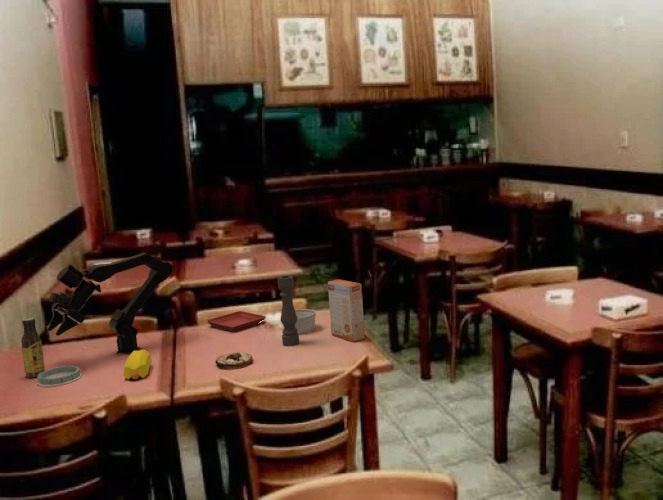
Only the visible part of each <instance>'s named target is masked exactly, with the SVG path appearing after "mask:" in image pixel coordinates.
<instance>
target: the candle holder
mask: <svg viewBox="0 0 663 500" xmlns="http://www.w3.org/2000/svg"><path fill="white" fill-rule="evenodd" d="M294 285H295V282H294V275H291V274H290V275H281V276H278V277H277V286H278V289H279V290H280V293H279V297H281V303H282V306H281V314H280V322H281V324H282V326H283V330H282V332H281V333H282V334H281V340H282V341H281V343H282V346H284V347H295V346H298V345H299V344H300V334H298V333H297V332H298V330H297V329H296V327H295V326H296V325H295V324H296V322H297V315H296V312H295V310H296V309H295V307H294V301H293V296H294V295H295V292H294V291H293V289H294Z"/></svg>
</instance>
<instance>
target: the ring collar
mask: <svg viewBox="0 0 663 500" xmlns="http://www.w3.org/2000/svg"><path fill="white" fill-rule="evenodd" d="M82 376H83V373H82V371H81V367H80V366H77V365H61V366H57V367H52V368H49V369H45V371H43V372H41V373H39V375H38V376H37V377H36V378H37V380H36V384H37V386H39V387H42V388H51V387H52V388H53V387H60V386H64V385H69V384H72V383H74V382H76V381H78V380H80V379H81V378H82Z"/></svg>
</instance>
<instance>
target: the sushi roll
mask: <svg viewBox="0 0 663 500" xmlns="http://www.w3.org/2000/svg"><path fill="white" fill-rule="evenodd" d="M252 363H253V356H252V354H250V353H248V352H244V351H243V352H242V351H239V352H238V351H237V352H233V353H228V354H222V355H220V356H218V357H217V358H216V360H215V364H216V367H217V368H218V370H220V371H221V370H222V371H223V370H228V371H229V370H237V369H241V368H244V367H247V366H249V365H251V364H252Z"/></svg>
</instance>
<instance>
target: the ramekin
mask: <svg viewBox="0 0 663 500" xmlns="http://www.w3.org/2000/svg"><path fill="white" fill-rule="evenodd" d="M295 312H296V315H297V322H296V324H295V325H296V326H295V327H296V329H297V330H298V332H297V333H298V334H299V335H302V334H303V335H304V334H308V333H311V332H313V331H314V329H315V327H316V315H317V314H316V311H315V310H313V309H307V308H306V309H305V308H298V309H295Z"/></svg>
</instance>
